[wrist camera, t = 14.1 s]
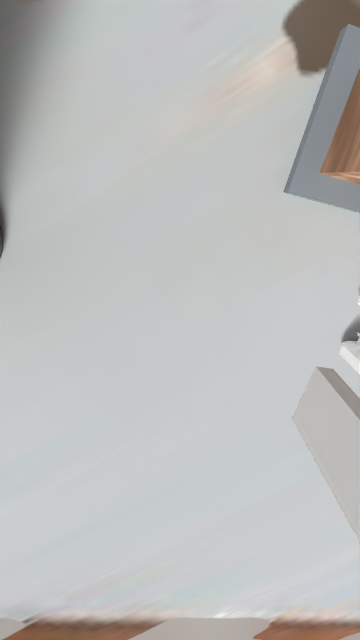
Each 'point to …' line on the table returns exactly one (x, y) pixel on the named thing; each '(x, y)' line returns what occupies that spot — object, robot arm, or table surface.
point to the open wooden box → (346, 141)
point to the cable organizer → (352, 351)
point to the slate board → (328, 129)
